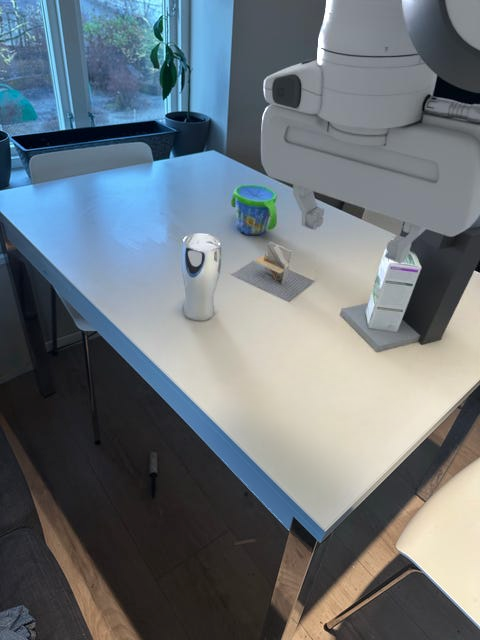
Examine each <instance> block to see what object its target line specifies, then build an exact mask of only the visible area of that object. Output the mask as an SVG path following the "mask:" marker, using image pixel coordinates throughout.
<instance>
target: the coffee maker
mask: <svg viewBox="0 0 480 640" xmlns="http://www.w3.org/2000/svg"><path fill="white" fill-rule="evenodd" d="M404 223H405V222H404V221H402V225H401V226H402V227H401V231H400V233H399V236H402V237H406V236H407V235H408V234H409V233H407V232H404V231H403V228H404ZM410 251H412V252H415V253H416V256H417V258H418V260H419V263H420V265H421V270H420V273H419V276H418V278H417V281H416V284H415V286H414V289H413V292H412V294H411V297H410V300H409V302H408V305H407V308H406V310H405V313H404V316H403V318H402V321H401V323H400V326H399V328H398V331H397V332H390V331H382V330H376V329H371V328H368V323H367V318H366V313H365V311H366V307H367V304H368V302H367V303H363V304H362V303H361V304H357V305H353V306H352V305H351V306H346V307H343V308H341V309H340V312H339V316H341V318H343V319H344V321H346V322H347V324H349V326H351V328H352V329H353V330H354V331H356V333H357V334H358V335H359V336H360V337H361V338H362V339H363V340H364V341H365V342H366V343H367V344H368V345H369V346H370V348H372V349H373V350H374V351H375V352H376V353H378V352H383V351H387V350H391V349H394V348H395V349H396V348H398V347H402V346H405V345H410V344H413V343H417V342H418V343H419V344H420V345H427V344H430V343H433V342H437V341H441V340H442V338H443V336H444V334H445V332H446V330H447V328H448V325H449V324H450V321H451V320H452V318H453V316H454V314H455V311H456V309H457V307H458V305H459V303H460V301H461V299H462V297H463V295H464V293H465V291H466V289H467V287H468V285H469V283H470V281H471V280H472V279H471V278H472V277H473V274H474V272H475V270H476V268H477V266H478V264H479V262H480V215H479V217H478V218H477V220H476V221H475V222H474V223H473V224H472V225H471V226H470V227H469V228H468V229H467V230H465V231H463V232H461V233H459V234H457V235H455V236H452V237H450V236H446V235H443V234H440V233H437V232H434V231H431V230H428V229H426V230H425V231H424V232H423V233H421V234H420V235H419V236H418V237H417V238H416V239H415V240H414V241H413V242H412V243H411V247H410Z"/></svg>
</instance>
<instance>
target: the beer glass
mask: <svg viewBox="0 0 480 640" xmlns="http://www.w3.org/2000/svg"><path fill="white" fill-rule="evenodd" d="M222 243H223V242H222V240H221V239H220V238H219V237H217V236H215V235H214V234H209V233H205V232H204V233H203V232H196V233H191V234H188V235H186V236H185V237H184V239H183V245H182V254H181V272H182V273H181V274H182V281H183V286H184V292H185V294H184V295H185V297H184V302H183V305H182V306H183V307H182V314H183V316H185V317H186V318H187V319H189V320H192V321H196V322H197V321H198V322H203V321H207V320H209V319H212V318H213V317H214V315H215V312H216V311H215V303H214V299H215V298H214V296H215V291H216V288H217V286H218V285H217V284H218V282H219V278H220V274H221V269H222V268H221V267H222Z"/></svg>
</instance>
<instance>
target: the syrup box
mask: <svg viewBox="0 0 480 640" xmlns="http://www.w3.org/2000/svg"><path fill="white" fill-rule="evenodd" d="M386 253H387V247H386V248H385V249H384V251H383V254H382V257H381V260H380V264H379V267H378V270H377V272H376V276H375V279H374V283H373V285H372V289H371V292H370V295H369V298H368V301H367V303H368V304H367V303H366V304H367V307H366V311H365V313H366V318H367V323H368V328H371V329H376V330H382V331H390V332H397V331H398V328H399V326H400V323H401V321H402V318H403V316H404V313H405V310H406V308H407V305H408V302H409V300H410V297H411V294H412V292H413V289H414V286H415V284H416V281H417V278H418V276H419V273H420V270H421V265H420V263H419V260H418V258H417V256H416V253H415V252H412V251H409V254H408V256H407V258H406V259H405V260H404V261H403V262H402V263H401V264H400V263H397V262H395V261H392V260H390V259H387V258H385V254H386Z"/></svg>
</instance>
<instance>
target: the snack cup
mask: <svg viewBox="0 0 480 640" xmlns="http://www.w3.org/2000/svg"><path fill="white" fill-rule="evenodd" d="M277 198H278V195H277V193H276V192H275V190H273V189H271V188H270V187H266V186H264V185H258V184H243V185H239V186H237V187H236V188H234V191H233V193H232V197H231V200H230V205H231V207H232V208H235V222H236V229H237V230H238V231H239V232H241V233H244V234H245V235H251V236H259V235H262V234H263V233H264V232H265V231H266V229H267V230H268V231H271V230H273V229H275V228H276V226H277V224H278V219H277V217H278V215H277V207H276V204H275V203H276V202H277Z"/></svg>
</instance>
